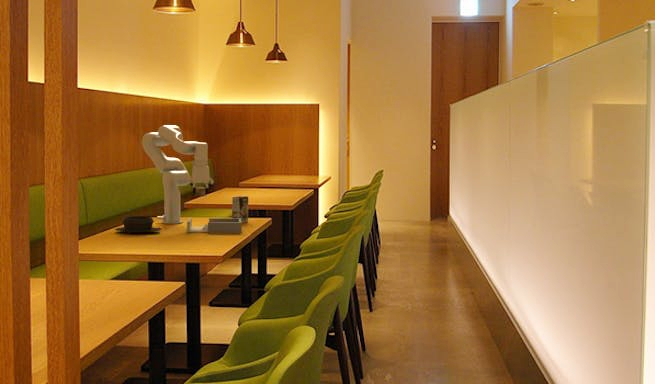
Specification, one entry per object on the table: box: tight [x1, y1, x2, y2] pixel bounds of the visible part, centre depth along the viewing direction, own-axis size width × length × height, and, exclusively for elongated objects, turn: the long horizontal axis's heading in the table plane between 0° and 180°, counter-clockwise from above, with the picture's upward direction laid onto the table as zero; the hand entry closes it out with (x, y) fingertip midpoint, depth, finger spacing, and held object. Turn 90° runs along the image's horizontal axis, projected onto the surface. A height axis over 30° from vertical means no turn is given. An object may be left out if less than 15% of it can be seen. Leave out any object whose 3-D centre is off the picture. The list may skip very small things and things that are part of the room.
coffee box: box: [231, 195, 249, 224], centre depth 453 cm, size 9×6×16 cm
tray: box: [186, 216, 208, 234], centre depth 415 cm, size 19×20×6 cm
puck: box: [195, 187, 207, 197], centre depth 431 cm, size 6×6×4 cm
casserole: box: [114, 215, 162, 235], centre depth 405 cm, size 25×19×8 cm
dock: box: [207, 217, 243, 234], centre depth 417 cm, size 18×20×6 cm
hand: (200, 194), depth 432 cm, fingers closed on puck, 6 cm apart
